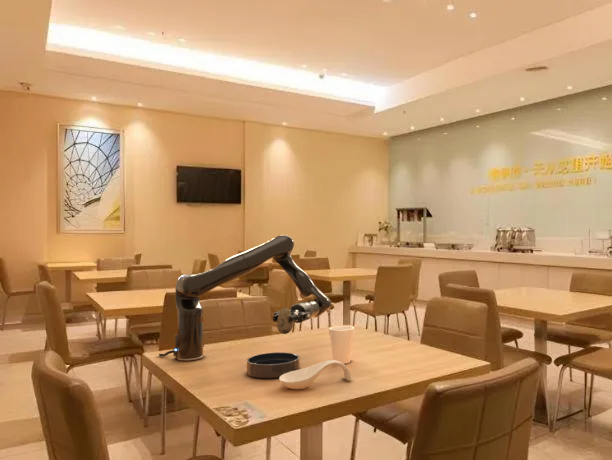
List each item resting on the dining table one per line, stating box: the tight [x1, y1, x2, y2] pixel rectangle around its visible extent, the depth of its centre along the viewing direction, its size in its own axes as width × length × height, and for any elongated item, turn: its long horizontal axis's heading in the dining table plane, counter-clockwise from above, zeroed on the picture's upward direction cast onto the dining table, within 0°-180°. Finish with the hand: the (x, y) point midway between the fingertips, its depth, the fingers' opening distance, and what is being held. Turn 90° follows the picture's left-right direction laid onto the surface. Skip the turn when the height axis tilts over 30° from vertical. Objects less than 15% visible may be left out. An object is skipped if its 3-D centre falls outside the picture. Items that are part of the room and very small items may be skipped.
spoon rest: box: [278, 359, 352, 390], centre depth 175 cm, size 24×12×7 cm, turn 120°
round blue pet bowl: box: [246, 351, 301, 379], centre depth 190 cm, size 18×18×5 cm
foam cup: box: [328, 325, 355, 365], centre depth 205 cm, size 10×9×13 cm
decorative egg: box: [276, 306, 294, 335], centre depth 200 cm, size 6×6×10 cm
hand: (281, 319), depth 198 cm, fingers closed on decorative egg, 6 cm apart
